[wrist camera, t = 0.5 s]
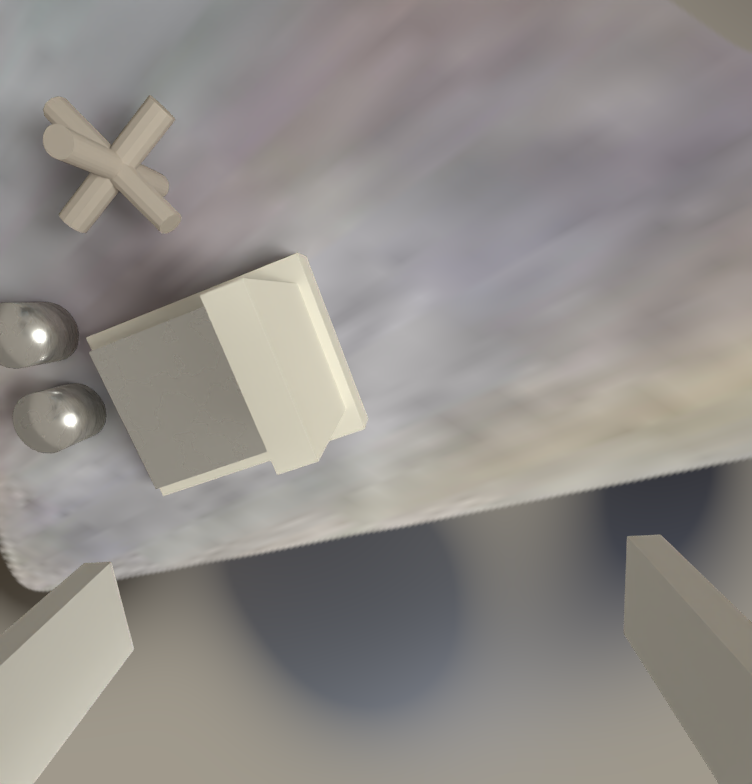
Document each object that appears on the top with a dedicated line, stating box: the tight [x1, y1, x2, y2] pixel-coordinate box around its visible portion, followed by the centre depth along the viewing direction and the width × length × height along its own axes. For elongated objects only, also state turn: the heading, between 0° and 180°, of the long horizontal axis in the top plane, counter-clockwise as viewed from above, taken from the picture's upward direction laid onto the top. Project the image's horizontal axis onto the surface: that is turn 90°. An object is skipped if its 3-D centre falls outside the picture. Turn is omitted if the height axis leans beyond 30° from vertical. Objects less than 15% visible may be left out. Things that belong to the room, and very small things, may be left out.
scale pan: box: [89, 307, 267, 489], centre depth 32 cm, size 11×11×1 cm
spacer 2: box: [13, 383, 106, 453], centre depth 37 cm, size 5×5×4 cm
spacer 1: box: [0, 302, 79, 369], centre depth 35 cm, size 5×5×4 cm
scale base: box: [86, 253, 368, 496], centre depth 30 cm, size 14×18×14 cm
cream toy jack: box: [43, 95, 182, 234], centre depth 29 cm, size 10×10×10 cm
